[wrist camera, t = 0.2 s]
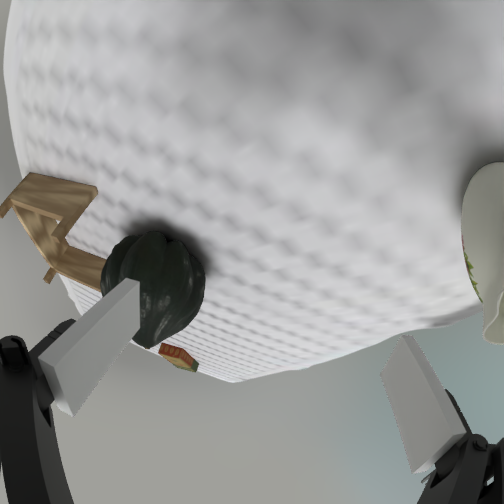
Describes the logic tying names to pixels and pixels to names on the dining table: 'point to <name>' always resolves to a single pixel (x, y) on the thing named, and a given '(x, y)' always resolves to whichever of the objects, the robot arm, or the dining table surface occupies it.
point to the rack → (48, 231)
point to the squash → (157, 283)
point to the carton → (178, 357)
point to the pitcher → (486, 245)
